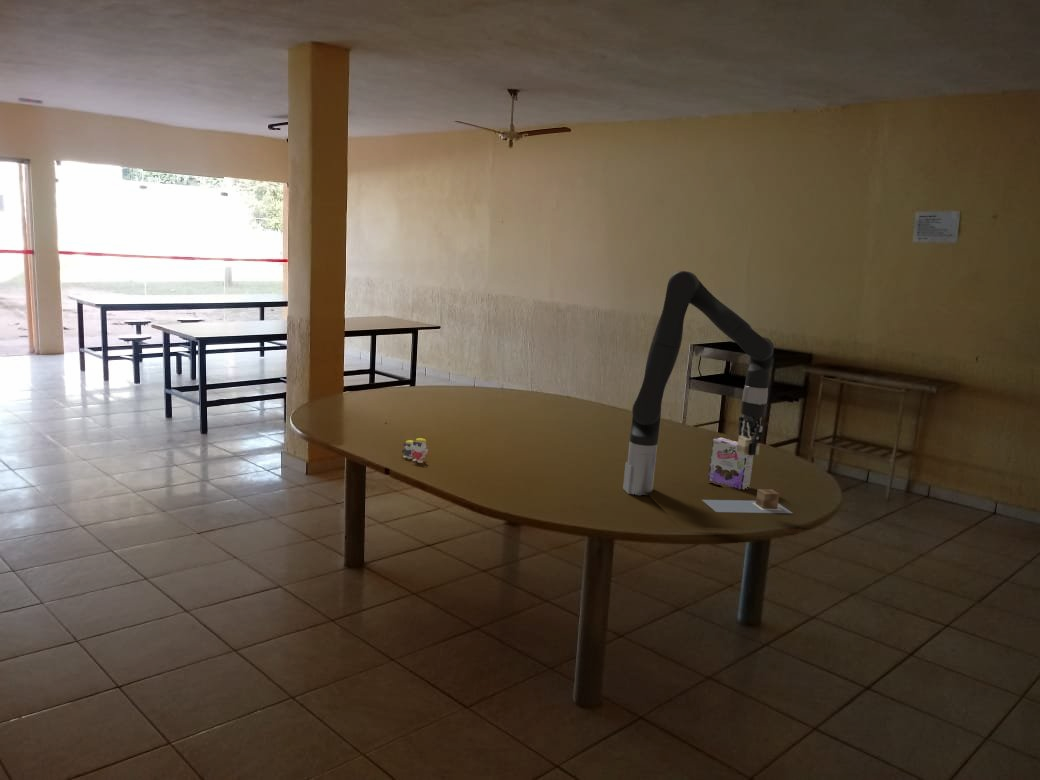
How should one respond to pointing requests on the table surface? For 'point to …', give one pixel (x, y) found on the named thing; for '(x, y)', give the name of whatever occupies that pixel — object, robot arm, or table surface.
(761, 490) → the walnut block
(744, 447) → the birch block
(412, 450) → the toy figures
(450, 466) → the table surface
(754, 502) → the board
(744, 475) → the candy box
